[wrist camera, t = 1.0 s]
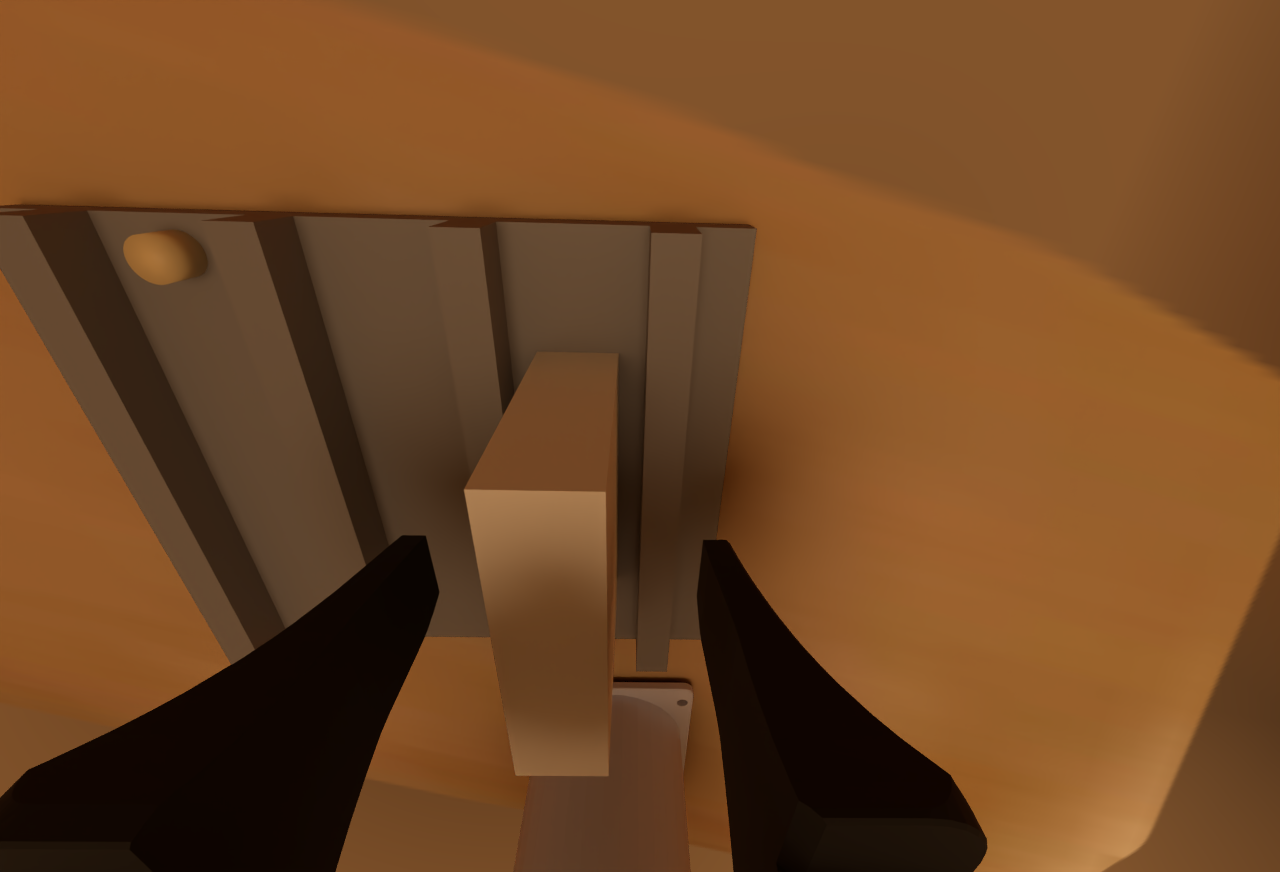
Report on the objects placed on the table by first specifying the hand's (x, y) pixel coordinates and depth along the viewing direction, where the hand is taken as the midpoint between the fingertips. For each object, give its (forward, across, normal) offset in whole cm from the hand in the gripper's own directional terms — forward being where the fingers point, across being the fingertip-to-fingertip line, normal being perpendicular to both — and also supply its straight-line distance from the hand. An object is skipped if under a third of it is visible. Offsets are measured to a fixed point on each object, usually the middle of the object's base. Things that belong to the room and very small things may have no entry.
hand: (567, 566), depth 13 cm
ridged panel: (+5, +5, 0) cm, 7 cm away
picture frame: (+4, 0, 0) cm, 4 cm away
